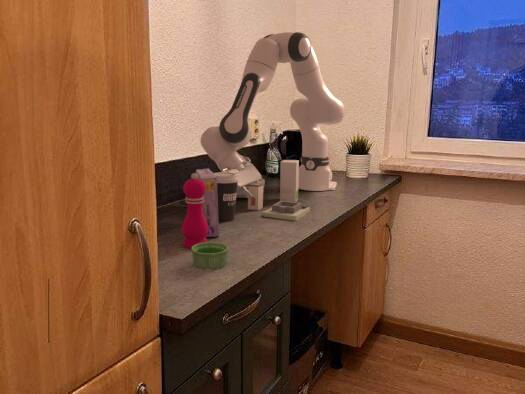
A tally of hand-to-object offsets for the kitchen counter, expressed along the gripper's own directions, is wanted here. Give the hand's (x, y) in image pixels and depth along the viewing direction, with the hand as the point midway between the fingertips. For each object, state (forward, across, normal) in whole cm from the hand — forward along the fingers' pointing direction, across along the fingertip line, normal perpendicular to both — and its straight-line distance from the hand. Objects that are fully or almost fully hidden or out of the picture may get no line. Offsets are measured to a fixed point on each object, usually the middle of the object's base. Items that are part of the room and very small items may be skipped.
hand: (257, 195), depth 174 cm
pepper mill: (+5, -46, +2) cm, 46 cm away
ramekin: (+13, -57, -6) cm, 59 cm away
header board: (+12, -2, -5) cm, 14 cm away
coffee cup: (+1, -18, +6) cm, 19 cm away
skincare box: (+8, +18, 0) cm, 20 cm away
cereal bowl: (-6, +17, +13) cm, 22 cm away
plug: (+3, 0, +4) cm, 5 cm away
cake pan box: (+2, -31, +6) cm, 32 cm away
